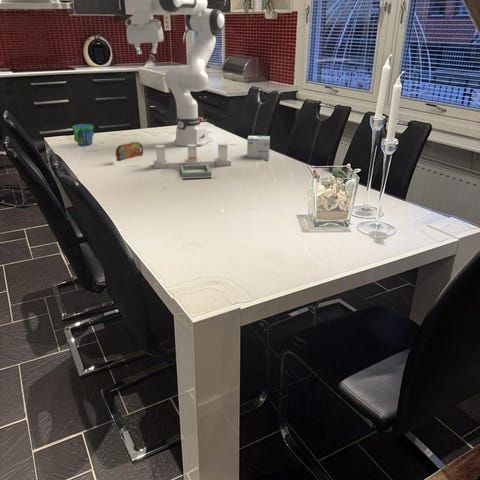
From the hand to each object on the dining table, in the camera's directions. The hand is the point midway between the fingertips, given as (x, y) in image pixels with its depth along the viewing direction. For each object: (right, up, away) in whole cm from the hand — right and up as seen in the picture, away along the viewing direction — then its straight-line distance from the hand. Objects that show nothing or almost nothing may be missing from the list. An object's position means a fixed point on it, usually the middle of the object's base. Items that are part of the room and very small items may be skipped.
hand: (146, 54), depth 210 cm
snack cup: (-41, -33, +40) cm, 66 cm away
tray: (+23, -56, -10) cm, 62 cm away
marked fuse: (+21, -50, 0) cm, 54 cm away
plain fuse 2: (+34, -49, +3) cm, 60 cm away
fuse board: (+21, -51, +1) cm, 56 cm away
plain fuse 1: (+7, -51, -2) cm, 52 cm away
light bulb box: (+51, -45, +18) cm, 70 cm away
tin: (-10, -46, +12) cm, 49 cm away
